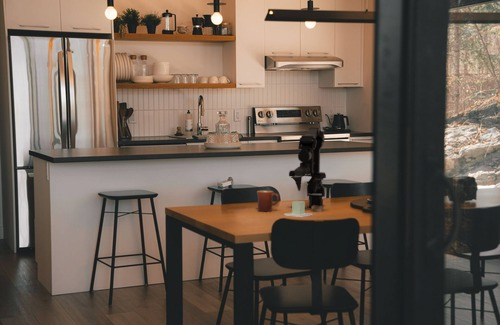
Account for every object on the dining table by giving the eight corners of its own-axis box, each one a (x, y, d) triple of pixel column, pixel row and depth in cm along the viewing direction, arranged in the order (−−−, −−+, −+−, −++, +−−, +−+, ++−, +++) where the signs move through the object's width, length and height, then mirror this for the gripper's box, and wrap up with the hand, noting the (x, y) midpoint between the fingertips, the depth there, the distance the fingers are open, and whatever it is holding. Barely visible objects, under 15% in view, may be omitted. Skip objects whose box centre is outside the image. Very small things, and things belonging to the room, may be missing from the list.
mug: (253, 211, 362) (253, 191, 361) (260, 209, 370) (260, 190, 369) (275, 213, 357) (275, 193, 356) (281, 211, 365) (282, 191, 364)
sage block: (292, 213, 351) (292, 201, 351) (297, 212, 355) (297, 200, 354) (299, 214, 348) (299, 202, 348) (304, 213, 352) (304, 201, 351)
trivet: (284, 215, 350) (284, 213, 350) (295, 213, 358) (295, 211, 358) (301, 217, 345) (301, 215, 344) (312, 215, 353) (312, 213, 352)
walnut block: (311, 212, 364) (311, 206, 364) (313, 210, 369) (313, 205, 369) (321, 212, 363) (321, 206, 363) (322, 211, 368) (322, 205, 367)
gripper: (282, 160, 352) (282, 191, 353) (314, 162, 340) (314, 195, 342) (295, 159, 360) (294, 189, 362) (326, 161, 349) (326, 192, 350)
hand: (306, 191), depth 354 cm, fingers open, 9 cm apart
